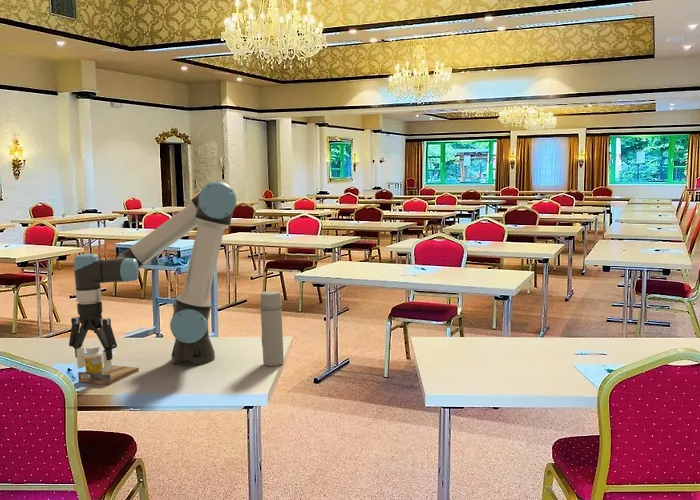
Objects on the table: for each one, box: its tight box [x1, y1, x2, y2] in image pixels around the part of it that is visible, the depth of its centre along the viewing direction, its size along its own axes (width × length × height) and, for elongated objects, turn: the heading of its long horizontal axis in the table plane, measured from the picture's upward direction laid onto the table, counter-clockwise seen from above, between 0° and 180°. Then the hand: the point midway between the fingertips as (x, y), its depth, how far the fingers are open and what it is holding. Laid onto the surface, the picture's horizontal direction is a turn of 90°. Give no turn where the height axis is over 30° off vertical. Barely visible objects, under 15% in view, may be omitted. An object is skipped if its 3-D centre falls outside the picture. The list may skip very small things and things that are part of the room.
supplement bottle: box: [84, 344, 104, 374], centre depth 214 cm, size 5×5×10 cm
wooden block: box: [77, 364, 139, 386], centre depth 217 cm, size 12×15×3 cm
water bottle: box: [258, 290, 285, 367], centre depth 225 cm, size 9×8×25 cm
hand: (94, 368), depth 215 cm, fingers open, 10 cm apart
